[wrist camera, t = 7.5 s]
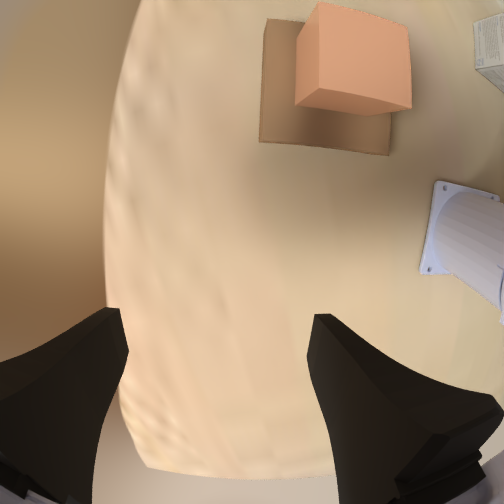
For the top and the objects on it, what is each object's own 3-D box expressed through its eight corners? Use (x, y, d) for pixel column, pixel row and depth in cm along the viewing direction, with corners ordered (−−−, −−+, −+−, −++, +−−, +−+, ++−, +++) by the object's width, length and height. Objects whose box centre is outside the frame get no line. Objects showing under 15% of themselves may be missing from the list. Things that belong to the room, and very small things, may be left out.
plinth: (373, 52, 15) (389, 43, 13) (371, 154, 18) (388, 155, 16) (263, 33, 15) (267, 18, 12) (258, 142, 17) (262, 140, 15)
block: (366, 52, 13) (407, 27, 8) (366, 116, 15) (411, 108, 10) (296, 38, 13) (318, 1, 8) (294, 105, 14) (319, 87, 10)
